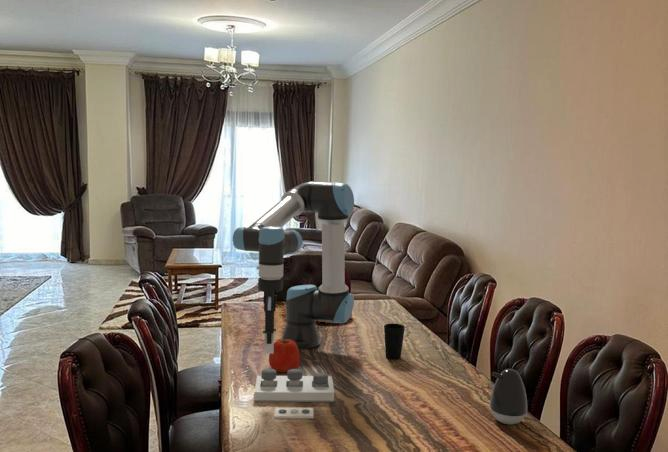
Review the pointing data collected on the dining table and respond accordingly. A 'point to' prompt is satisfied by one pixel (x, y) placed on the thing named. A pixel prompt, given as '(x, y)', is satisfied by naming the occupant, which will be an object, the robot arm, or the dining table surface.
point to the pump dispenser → (508, 397)
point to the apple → (284, 356)
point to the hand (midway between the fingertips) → (269, 352)
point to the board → (293, 391)
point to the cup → (393, 340)
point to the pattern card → (294, 413)
